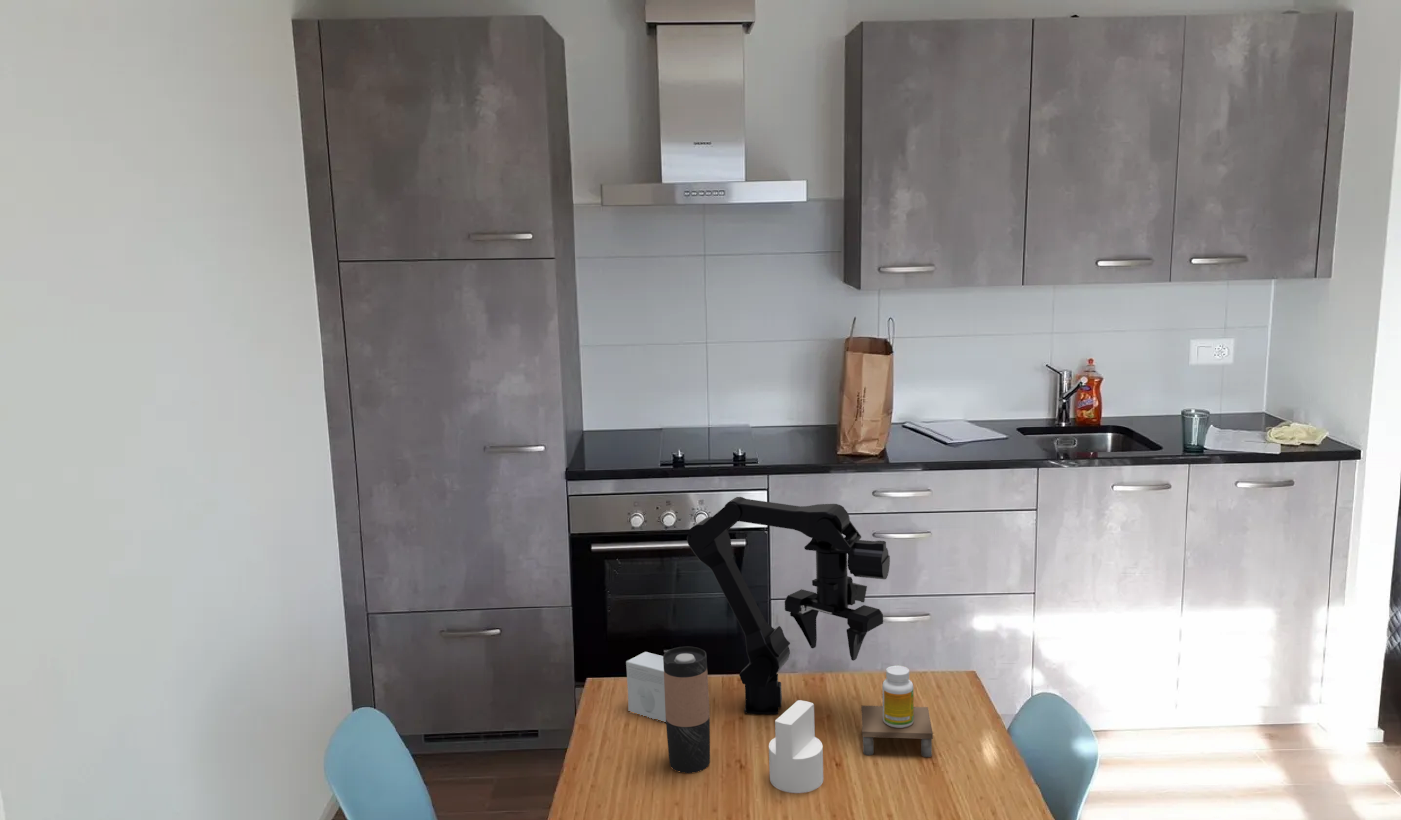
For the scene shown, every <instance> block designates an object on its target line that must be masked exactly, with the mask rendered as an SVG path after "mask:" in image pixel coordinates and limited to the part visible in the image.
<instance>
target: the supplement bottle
mask: <svg viewBox="0 0 1401 820" xmlns="http://www.w3.org/2000/svg"><path fill="white" fill-rule="evenodd" d="M885 671H886V672H885V673H886V674H885V676H886V678H885V679H884V681H883V682H882V685H881V686H882V691H881V692H882V706H883V721H884V723H885V724H887V725H889V726H891V727H895V728H904V727H908V726H910V725H912V724H913V721H914V707H915V706H914V704H915V703H914V684H913V682H912V680H910V669H909V668H908V667H906V666H903V665H892V666H888V667H887V668H886V669H885Z"/></svg>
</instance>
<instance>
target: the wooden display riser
mask: <svg viewBox="0 0 1401 820" xmlns="http://www.w3.org/2000/svg"><path fill="white" fill-rule="evenodd" d="M861 730H862V731H861V732H862V751H863V752H862V753H863V755H864V756H873V755H874V738H889V739H893V738H894V739H920V752H921V753H920V755H921V756H922V757H923V758H930V757H932V756H933V753H932V748H933V747H932V746H933V745H932V744H933V743H932V741H933V739H934V737H933V736H934V735H933V734H934V733H933V727H932V722H931V717H930V710H929V707H928V706H914V721H913V724H912V725H910V726H908V727H904V728H895V727H891V726H889V725H887V724H885V723H884V721H883V705H861Z"/></svg>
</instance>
